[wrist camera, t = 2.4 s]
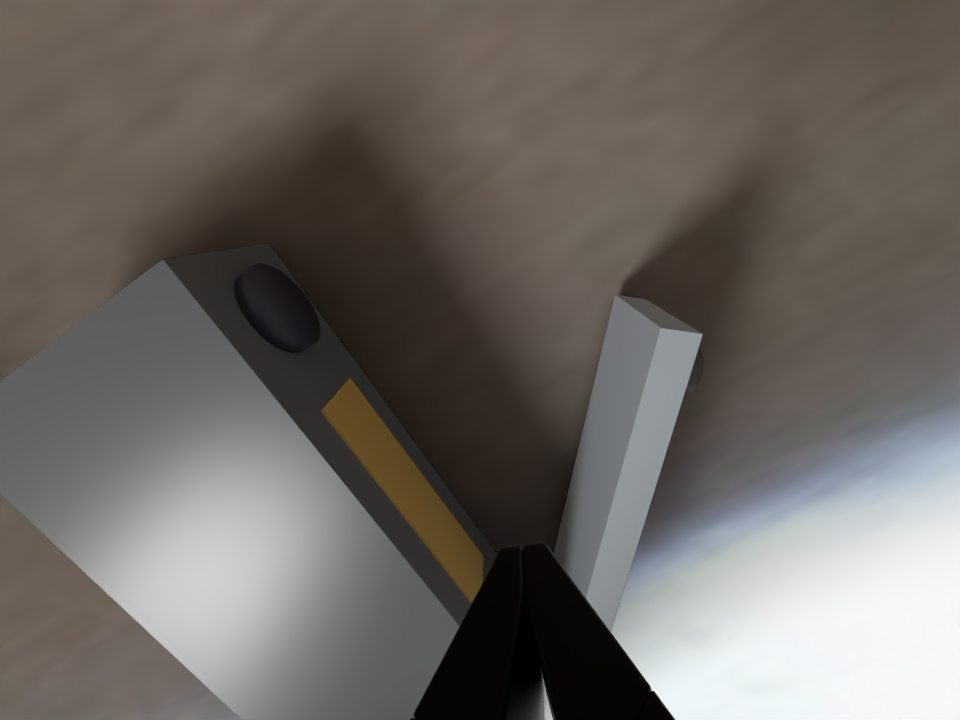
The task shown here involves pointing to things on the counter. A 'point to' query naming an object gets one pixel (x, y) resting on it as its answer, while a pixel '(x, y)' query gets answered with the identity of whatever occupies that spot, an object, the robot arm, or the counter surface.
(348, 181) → the counter surface
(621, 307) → the side door
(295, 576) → the gray rectangular box
